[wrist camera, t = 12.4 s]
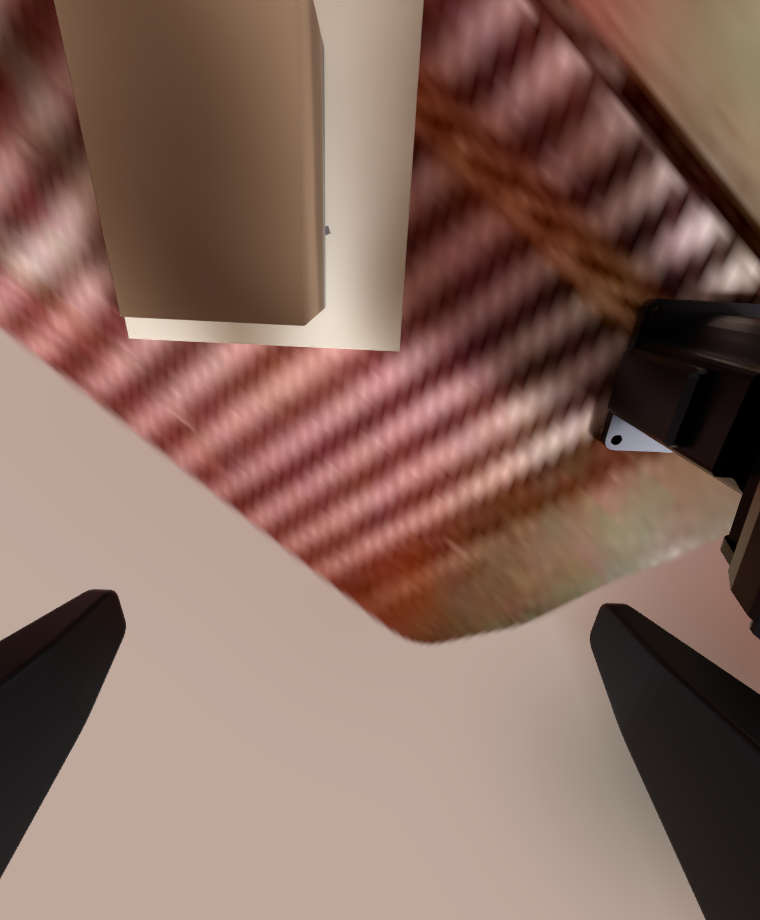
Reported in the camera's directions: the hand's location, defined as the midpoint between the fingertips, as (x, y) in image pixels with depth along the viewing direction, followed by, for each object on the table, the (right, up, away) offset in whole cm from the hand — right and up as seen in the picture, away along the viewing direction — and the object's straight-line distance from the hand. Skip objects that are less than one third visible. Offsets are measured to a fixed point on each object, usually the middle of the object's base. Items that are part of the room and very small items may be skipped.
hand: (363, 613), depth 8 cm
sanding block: (-4, +12, +5) cm, 13 cm away
